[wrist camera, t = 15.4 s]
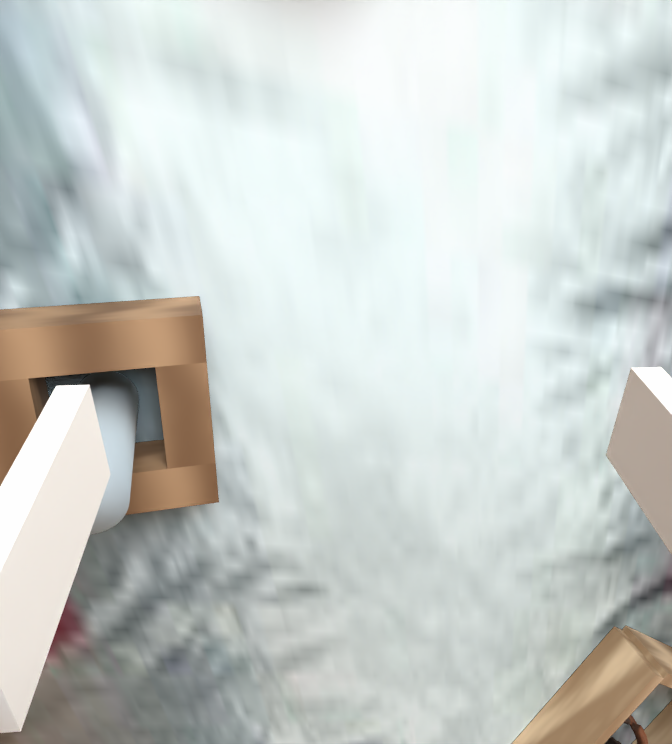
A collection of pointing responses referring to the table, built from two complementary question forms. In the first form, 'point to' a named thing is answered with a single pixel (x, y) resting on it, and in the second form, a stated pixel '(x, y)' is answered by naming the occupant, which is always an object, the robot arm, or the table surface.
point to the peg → (115, 441)
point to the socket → (112, 353)
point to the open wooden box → (607, 693)
